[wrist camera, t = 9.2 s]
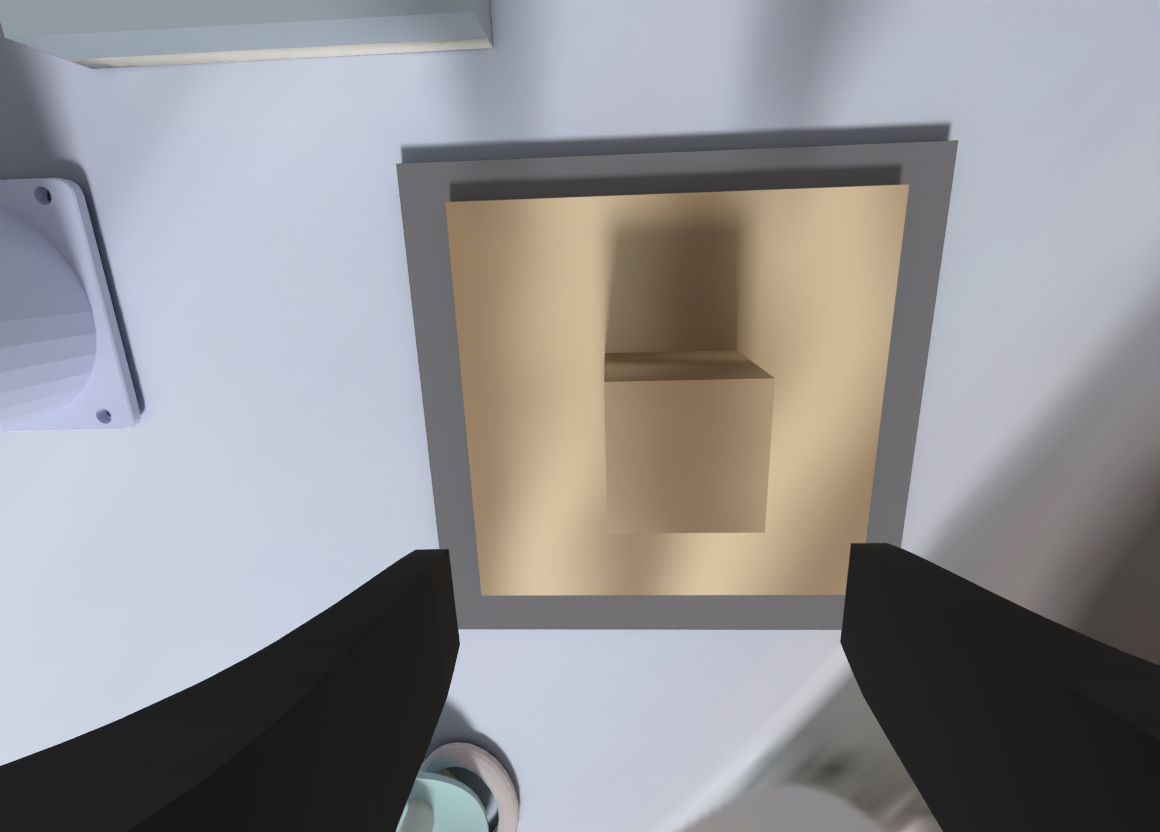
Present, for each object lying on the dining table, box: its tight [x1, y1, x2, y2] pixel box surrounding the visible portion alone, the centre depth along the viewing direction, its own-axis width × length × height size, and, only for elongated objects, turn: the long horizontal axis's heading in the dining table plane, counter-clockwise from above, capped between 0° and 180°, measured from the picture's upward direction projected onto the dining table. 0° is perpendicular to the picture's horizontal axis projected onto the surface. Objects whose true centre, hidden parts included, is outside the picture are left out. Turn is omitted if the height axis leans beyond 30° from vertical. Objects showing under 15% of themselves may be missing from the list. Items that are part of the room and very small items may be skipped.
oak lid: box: [445, 185, 909, 596], centre depth 16 cm, size 13×13×5 cm
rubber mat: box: [396, 140, 958, 630], centre depth 19 cm, size 16×16×1 cm
